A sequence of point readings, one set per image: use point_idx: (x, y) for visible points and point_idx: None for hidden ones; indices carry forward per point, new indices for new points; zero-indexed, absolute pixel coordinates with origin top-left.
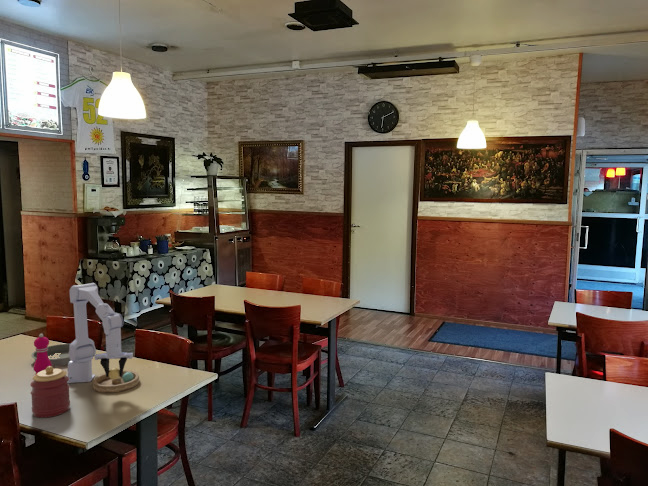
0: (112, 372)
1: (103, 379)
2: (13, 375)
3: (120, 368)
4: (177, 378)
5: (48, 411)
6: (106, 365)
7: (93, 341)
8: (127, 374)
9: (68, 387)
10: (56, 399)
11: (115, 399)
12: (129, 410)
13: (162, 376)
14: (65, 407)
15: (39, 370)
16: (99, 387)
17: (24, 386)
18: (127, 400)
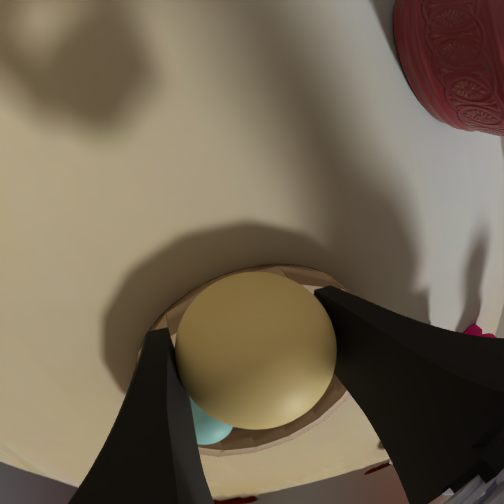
0: (279, 323)
1: (329, 383)
2: (493, 323)
3: (148, 420)
4: (14, 430)
5: None
6: (450, 373)
7: (444, 494)
8: (203, 426)
9: (500, 36)
10: None
11: (163, 154)
12: (14, 4)
13: (84, 447)
14: (409, 4)
15: (489, 336)
16: (331, 282)
17: (495, 275)
18: (64, 145)
